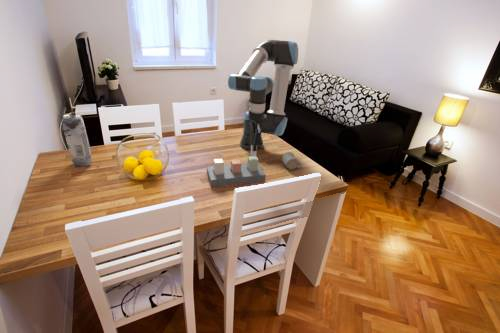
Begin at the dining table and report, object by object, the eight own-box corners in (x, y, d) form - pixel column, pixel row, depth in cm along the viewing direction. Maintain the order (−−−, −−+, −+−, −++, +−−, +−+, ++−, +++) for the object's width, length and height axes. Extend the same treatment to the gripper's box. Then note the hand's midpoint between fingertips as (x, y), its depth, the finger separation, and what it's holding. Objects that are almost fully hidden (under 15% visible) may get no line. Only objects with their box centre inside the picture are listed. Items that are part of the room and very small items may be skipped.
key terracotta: (230, 171, 146) (230, 160, 143) (238, 171, 147) (239, 159, 144) (232, 176, 142) (232, 164, 139) (240, 175, 143) (241, 163, 140)
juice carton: (92, 157, 155) (81, 110, 142) (92, 166, 147) (81, 117, 134) (74, 160, 151) (61, 112, 138) (73, 169, 143) (59, 119, 130)
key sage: (247, 168, 148) (247, 156, 144) (255, 167, 149) (255, 156, 146) (249, 172, 144) (250, 160, 141) (257, 171, 145) (258, 159, 142)
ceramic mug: (286, 170, 155) (287, 158, 152) (281, 164, 162) (282, 152, 158) (303, 169, 158) (305, 157, 154) (297, 163, 165) (299, 151, 161)
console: (206, 173, 148) (206, 166, 146) (256, 168, 155) (257, 162, 153) (211, 187, 136) (211, 180, 134) (264, 181, 144) (265, 174, 142)
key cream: (213, 171, 143) (213, 159, 140) (222, 170, 144) (222, 158, 141) (215, 175, 139) (215, 163, 136) (223, 174, 140) (223, 162, 137)
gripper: (245, 107, 136) (243, 150, 147) (253, 115, 125) (249, 162, 136) (259, 106, 138) (256, 149, 149) (268, 115, 127) (264, 160, 138)
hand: (253, 155), depth 142 cm, fingers closed
